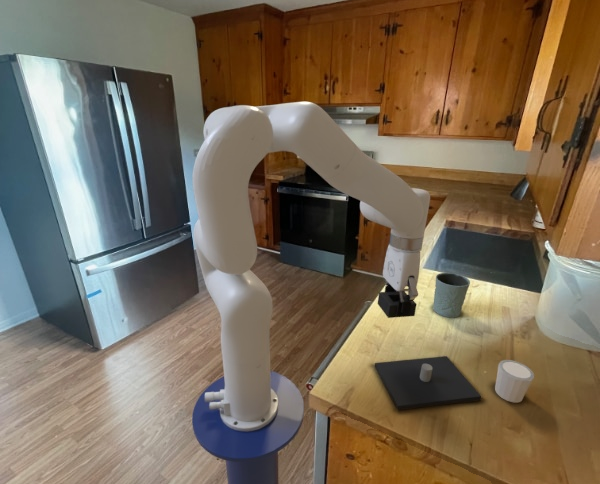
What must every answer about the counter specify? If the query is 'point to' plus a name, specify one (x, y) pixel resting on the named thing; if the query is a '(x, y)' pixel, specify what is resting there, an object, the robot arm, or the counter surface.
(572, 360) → the counter surface
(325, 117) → the robot arm
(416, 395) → the base pad
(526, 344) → the counter surface
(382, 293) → the black square frame
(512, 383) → the white short cylinder
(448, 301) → the grey green embossed cup
